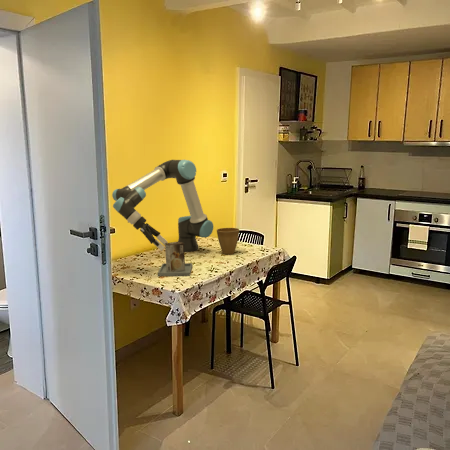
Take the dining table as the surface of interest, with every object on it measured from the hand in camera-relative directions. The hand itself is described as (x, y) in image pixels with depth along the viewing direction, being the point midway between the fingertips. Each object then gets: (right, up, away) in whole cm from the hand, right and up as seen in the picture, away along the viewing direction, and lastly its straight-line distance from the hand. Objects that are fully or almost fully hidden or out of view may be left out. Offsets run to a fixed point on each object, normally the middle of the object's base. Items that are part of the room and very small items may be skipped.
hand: (164, 246), depth 255 cm
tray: (+6, -14, +3) cm, 16 cm away
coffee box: (+6, -14, +2) cm, 15 cm away
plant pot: (+36, -7, +44) cm, 57 cm away
